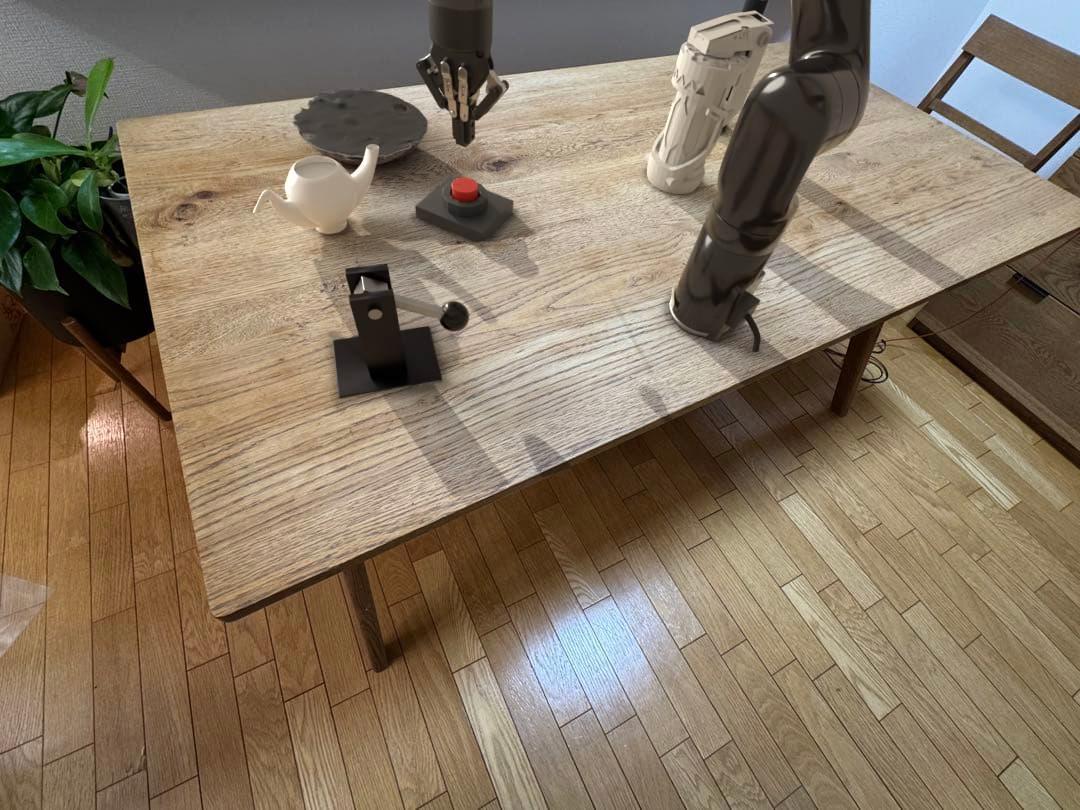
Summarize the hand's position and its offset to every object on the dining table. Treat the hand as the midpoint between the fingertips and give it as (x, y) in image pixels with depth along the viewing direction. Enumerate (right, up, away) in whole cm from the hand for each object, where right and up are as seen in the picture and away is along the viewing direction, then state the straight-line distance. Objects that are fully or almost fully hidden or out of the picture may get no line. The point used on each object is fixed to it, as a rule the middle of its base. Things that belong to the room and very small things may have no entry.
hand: (463, 143), depth 73 cm
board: (-20, +8, +18) cm, 28 cm away
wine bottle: (+47, +22, +36) cm, 63 cm away
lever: (-4, -27, -14) cm, 31 cm away
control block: (-1, -6, +10) cm, 12 cm away
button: (-1, -4, +7) cm, 8 cm away
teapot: (-21, -10, +6) cm, 24 cm away
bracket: (-8, -32, -8) cm, 34 cm away
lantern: (+36, +5, +23) cm, 43 cm away
